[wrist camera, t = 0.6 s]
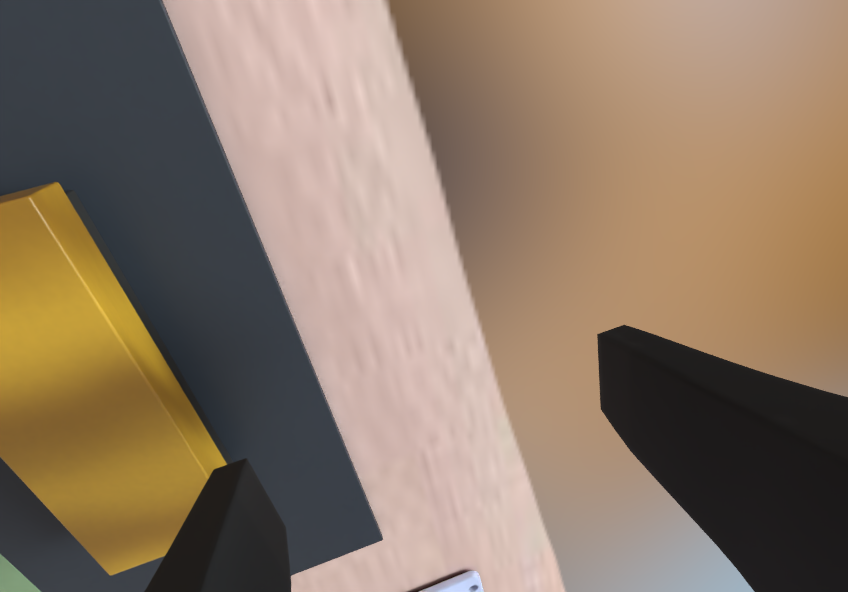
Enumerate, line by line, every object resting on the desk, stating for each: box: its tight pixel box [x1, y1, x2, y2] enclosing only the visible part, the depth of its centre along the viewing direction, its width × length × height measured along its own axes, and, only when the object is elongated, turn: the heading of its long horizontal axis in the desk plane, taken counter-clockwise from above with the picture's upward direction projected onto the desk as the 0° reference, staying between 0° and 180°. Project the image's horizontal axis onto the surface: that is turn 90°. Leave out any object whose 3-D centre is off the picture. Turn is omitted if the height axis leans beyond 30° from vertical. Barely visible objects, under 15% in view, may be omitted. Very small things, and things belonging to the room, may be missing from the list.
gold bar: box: [0, 182, 233, 575], centre depth 14 cm, size 12×4×3 cm, turn 12°
